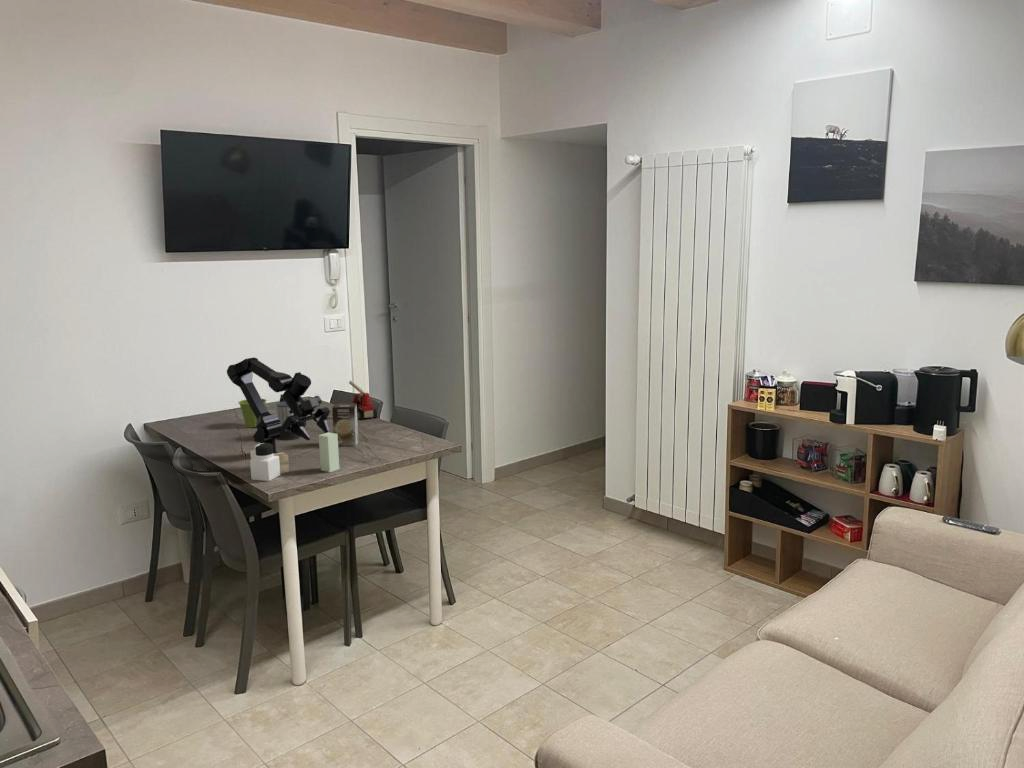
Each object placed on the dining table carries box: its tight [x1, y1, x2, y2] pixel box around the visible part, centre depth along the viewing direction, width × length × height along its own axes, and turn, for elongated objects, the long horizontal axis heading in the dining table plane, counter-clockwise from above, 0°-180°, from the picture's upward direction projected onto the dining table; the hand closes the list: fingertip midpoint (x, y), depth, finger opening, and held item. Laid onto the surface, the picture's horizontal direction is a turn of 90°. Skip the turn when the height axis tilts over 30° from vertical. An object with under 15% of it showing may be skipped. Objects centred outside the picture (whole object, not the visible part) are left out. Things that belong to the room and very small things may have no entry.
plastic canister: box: [249, 448, 256, 460], centre depth 275 cm, size 5×5×7 cm
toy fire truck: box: [348, 380, 378, 421], centre depth 352 cm, size 11×16×18 cm
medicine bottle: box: [249, 443, 281, 482], centre depth 265 cm, size 7×7×12 cm
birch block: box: [273, 451, 290, 474], centre depth 273 cm, size 5×5×6 cm
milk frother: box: [275, 401, 307, 441], centre depth 320 cm, size 14×16×15 cm
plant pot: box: [237, 398, 267, 429], centre depth 337 cm, size 12×12×11 cm
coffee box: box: [331, 403, 359, 447], centre depth 306 cm, size 9×6×16 cm
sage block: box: [318, 431, 340, 473], centre depth 273 cm, size 5×5×13 cm
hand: (319, 436), depth 275 cm, fingers open, 9 cm apart
